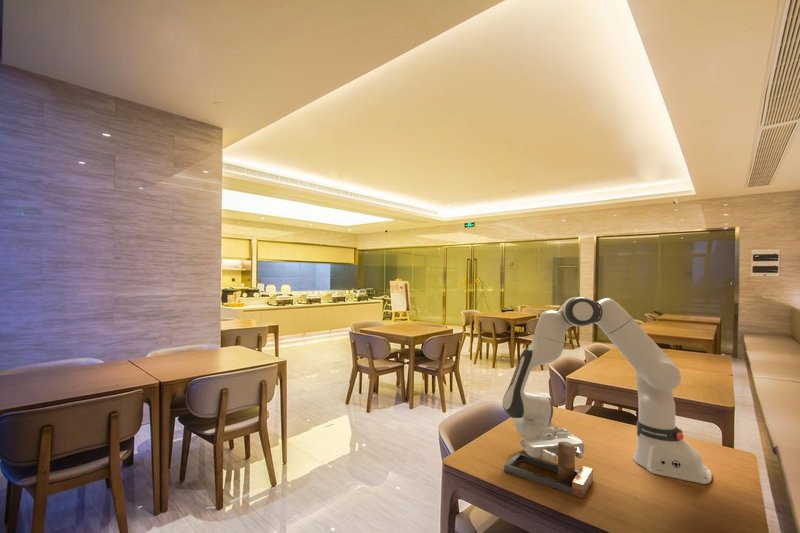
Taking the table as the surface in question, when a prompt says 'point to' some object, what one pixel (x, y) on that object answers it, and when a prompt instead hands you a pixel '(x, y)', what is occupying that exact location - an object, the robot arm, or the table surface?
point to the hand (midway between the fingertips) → (567, 457)
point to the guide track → (577, 487)
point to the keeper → (566, 462)
